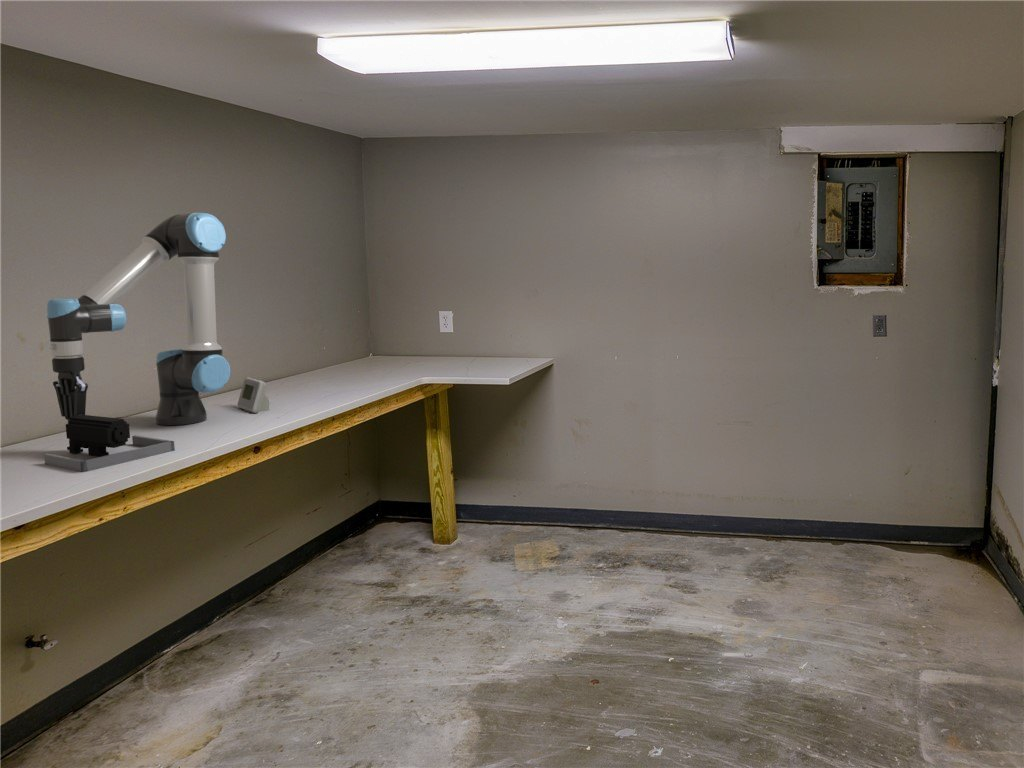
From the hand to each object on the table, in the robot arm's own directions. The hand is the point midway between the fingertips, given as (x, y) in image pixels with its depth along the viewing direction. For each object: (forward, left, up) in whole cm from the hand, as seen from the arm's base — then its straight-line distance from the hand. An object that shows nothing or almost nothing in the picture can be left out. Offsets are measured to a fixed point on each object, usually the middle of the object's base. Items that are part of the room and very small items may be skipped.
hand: (75, 443), depth 218 cm
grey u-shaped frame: (0, +15, -2) cm, 16 cm away
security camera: (0, +10, -2) cm, 10 cm away
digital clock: (-64, -5, -3) cm, 64 cm away
